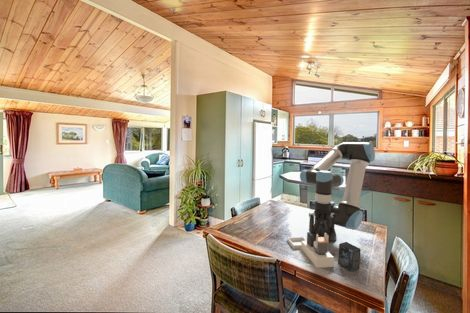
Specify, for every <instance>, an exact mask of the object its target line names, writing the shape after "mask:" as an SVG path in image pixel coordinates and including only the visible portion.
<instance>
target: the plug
mask: <svg viewBox="0 0 470 313" xmlns="http://www.w3.org/2000/svg"><path fill="white" fill-rule="evenodd" d="M314 249H315V250H316V253H317V254H318V255H325V253H328V252H329V251H328V250H329V242H328V241H327V240H326V239H325V238H324V237H318V248H316V247H315V246H314Z"/></svg>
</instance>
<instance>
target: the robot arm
mask: <svg viewBox="0 0 470 313" xmlns="http://www.w3.org/2000/svg"><path fill="white" fill-rule="evenodd" d="M375 152H376V150H375V146H374V145H373V143H372V142H365V141H363V142H359V141H357V142H355V141H345V142H341V143H338V144H336V145H334V146H333V147H331V148H330V149H329V150H328V151H327V153H326V154H325V155H324V156H323V157H322V158H321V159H320V160H318V162H316V163H315V164H314V165H313V166H312V167H311V168H309V169H303V170H301V171H300V173H299V180H300V181H301V182H302V183H305V184H310V185H315V192H314V193H315V194H314V195H315V197H314V200H315V201H314V211H313V212H312V213H311V212H309V213H308V217H309V221H308V222H309V225H308V232H310V233H311V234H313V238H312V239H313V240H314V246H315V247H316V248H318V235H319V236H320V237H324V238H325V239H326V240H327V241H328V243H330V242H334V241H336V240H337V233H336V229H335V226H338V227H342V228H345V229H348V230H353V231H354V230H357V229H358V228H359V227H361V224H362V222H363V218H364V212H363V211H362V210H361V206H360V205H359V202H360V198H361V193H362V188H363V185H364V184H363V183H364V178H365V173H366V168H368V166H370V163H372V162H374V161H375V159H376V158H375V157H376V153H375ZM342 160H345V161H346V160H347V161H348V163H349V170H348V174H347V178H346V179H347V180H346V183H345V188H344V192H343V196H342V201H339V203H338V205H336V201H333V200H332V192H333V189H334V188H339V187H341V186H342V185H343V183H344V177H343V175H342V174H341V173H340V172H332V171H331V170H330V169H331V168H332V167H333V166H334V165H335V164H336V163H338V162H340V161H342ZM329 170H330V171H329ZM317 234H318V235H317Z"/></svg>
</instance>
